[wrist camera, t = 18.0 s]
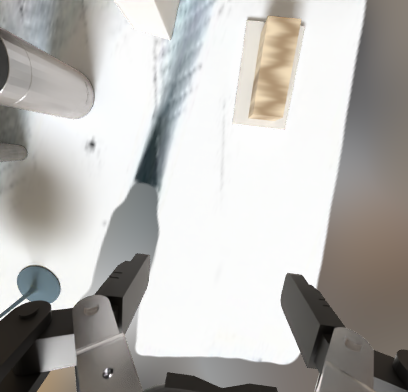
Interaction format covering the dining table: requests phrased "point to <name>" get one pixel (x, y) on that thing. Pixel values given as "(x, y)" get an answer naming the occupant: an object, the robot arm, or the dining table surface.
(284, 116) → the white board
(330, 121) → the dining table surface
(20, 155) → the hip flask
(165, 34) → the milk carton
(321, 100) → the dining table surface
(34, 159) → the dining table surface
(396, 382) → the robot arm
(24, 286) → the cocktail glass
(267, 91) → the birch block
